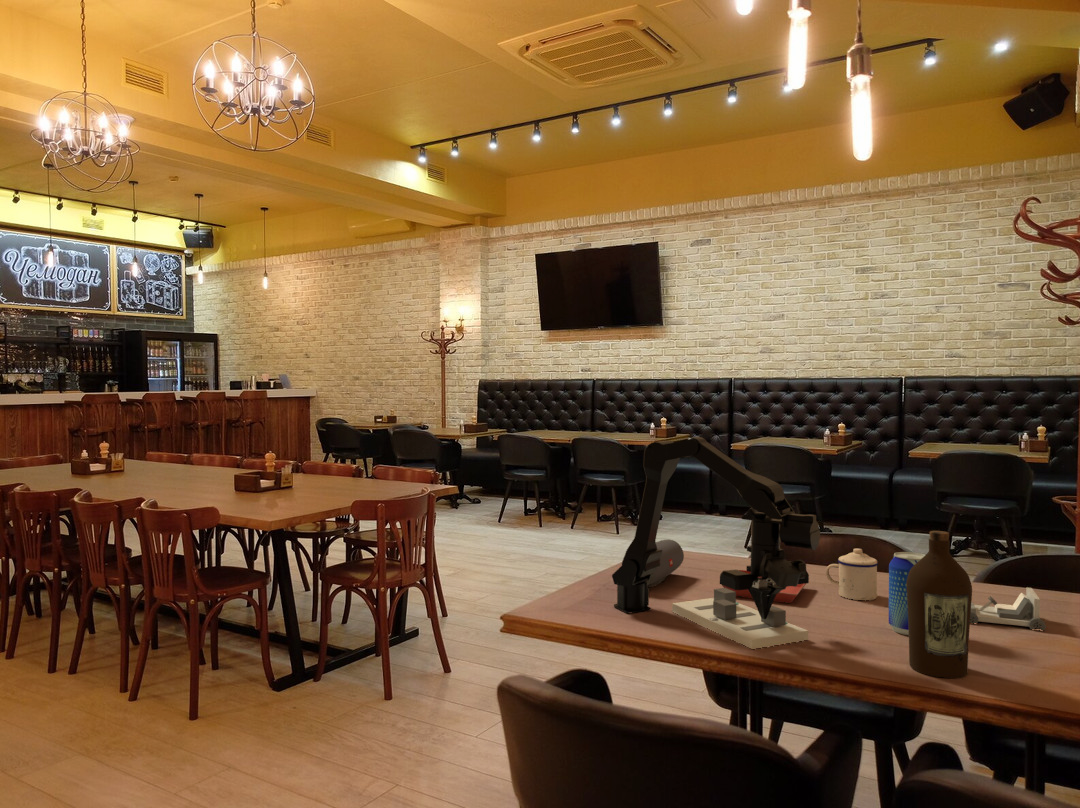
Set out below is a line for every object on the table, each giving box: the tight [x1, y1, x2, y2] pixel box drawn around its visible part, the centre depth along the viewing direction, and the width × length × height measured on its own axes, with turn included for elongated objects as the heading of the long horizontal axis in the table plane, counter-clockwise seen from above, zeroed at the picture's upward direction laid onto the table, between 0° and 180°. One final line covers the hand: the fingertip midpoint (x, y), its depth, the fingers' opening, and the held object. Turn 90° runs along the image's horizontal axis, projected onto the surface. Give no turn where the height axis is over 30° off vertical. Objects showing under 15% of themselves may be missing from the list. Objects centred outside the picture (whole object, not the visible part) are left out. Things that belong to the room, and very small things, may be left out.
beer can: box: [888, 551, 926, 636], centre depth 163 cm, size 8×8×16 cm
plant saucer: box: [721, 569, 807, 604], centre depth 195 cm, size 18×18×3 cm
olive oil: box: [906, 530, 973, 679], centre depth 141 cm, size 11×11×25 cm
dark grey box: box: [713, 599, 736, 620], centre depth 166 cm, size 3×4×3 cm
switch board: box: [671, 597, 809, 650], centre depth 167 cm, size 14×28×2 cm, turn 24°
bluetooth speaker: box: [646, 539, 685, 588], centre depth 204 cm, size 23×9×10 cm, turn 150°
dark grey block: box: [761, 605, 787, 627], centre depth 161 cm, size 3×4×3 cm
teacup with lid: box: [825, 548, 879, 602], centre depth 191 cm, size 12×9×12 cm
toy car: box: [970, 587, 1047, 631], centre depth 172 cm, size 18×10×12 cm
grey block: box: [713, 587, 737, 604], centre depth 176 cm, size 3×4×3 cm
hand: (763, 618), depth 160 cm, fingers closed
